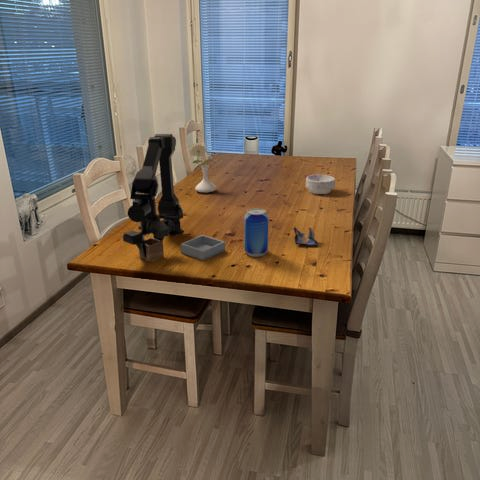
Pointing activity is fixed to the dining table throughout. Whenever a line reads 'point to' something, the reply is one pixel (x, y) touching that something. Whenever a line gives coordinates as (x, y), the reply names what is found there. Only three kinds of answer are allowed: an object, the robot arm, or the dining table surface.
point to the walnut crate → (153, 250)
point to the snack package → (300, 236)
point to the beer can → (256, 232)
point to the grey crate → (203, 247)
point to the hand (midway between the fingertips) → (151, 253)
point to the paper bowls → (320, 184)
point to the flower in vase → (205, 183)
